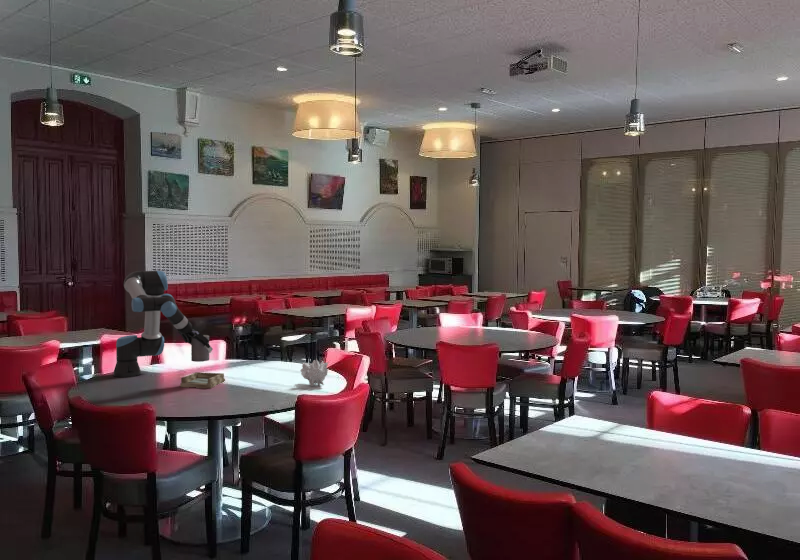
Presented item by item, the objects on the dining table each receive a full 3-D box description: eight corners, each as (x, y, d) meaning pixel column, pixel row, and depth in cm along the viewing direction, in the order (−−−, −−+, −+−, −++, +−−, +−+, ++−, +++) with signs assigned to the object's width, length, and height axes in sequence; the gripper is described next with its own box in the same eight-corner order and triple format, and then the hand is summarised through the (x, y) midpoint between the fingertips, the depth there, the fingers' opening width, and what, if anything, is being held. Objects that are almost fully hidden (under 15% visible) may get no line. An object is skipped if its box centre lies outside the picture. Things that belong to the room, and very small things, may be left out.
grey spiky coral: (338, 362, 373) (318, 348, 367) (327, 389, 364) (306, 375, 357) (318, 367, 388) (298, 354, 381) (306, 393, 378) (286, 380, 372)
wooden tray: (195, 380, 383) (195, 372, 383) (225, 381, 380) (225, 373, 380) (180, 387, 365) (180, 378, 365) (211, 388, 362) (211, 379, 362)
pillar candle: (192, 359, 375) (191, 332, 374) (210, 358, 377) (209, 332, 376) (190, 362, 365) (190, 335, 365) (208, 361, 367) (208, 334, 367)
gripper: (164, 328, 363) (187, 353, 377) (193, 331, 352) (215, 357, 366) (172, 318, 367) (194, 343, 381) (200, 320, 356) (222, 346, 370)
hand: (204, 350), depth 374 cm, fingers closed on pillar candle, 9 cm apart
